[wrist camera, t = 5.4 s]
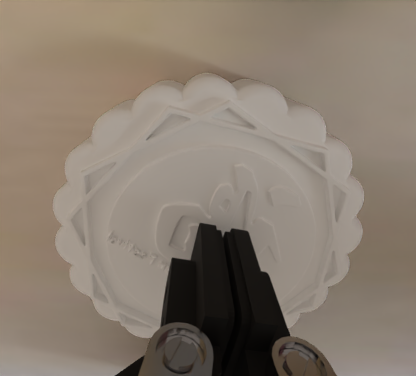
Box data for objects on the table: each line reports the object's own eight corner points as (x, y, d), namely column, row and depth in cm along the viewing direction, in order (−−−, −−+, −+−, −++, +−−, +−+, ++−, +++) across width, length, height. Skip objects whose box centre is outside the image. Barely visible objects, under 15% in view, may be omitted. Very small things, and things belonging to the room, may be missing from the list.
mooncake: (385, 175, 14) (444, 211, 11) (232, 332, 18) (241, 394, 14) (169, 2, 11) (158, -22, 8) (36, 236, 14) (-10, 288, 11)
